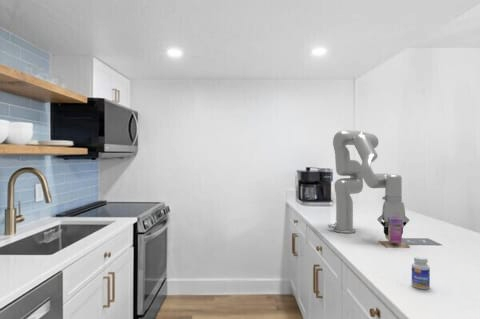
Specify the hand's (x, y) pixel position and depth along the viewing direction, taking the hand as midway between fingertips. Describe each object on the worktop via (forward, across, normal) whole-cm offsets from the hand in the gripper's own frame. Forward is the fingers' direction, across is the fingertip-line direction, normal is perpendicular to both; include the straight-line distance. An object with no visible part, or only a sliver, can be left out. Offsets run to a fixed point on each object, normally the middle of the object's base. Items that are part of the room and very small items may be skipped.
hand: (393, 234), depth 172 cm
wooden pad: (+5, 0, 0) cm, 5 cm away
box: (+3, 0, 0) cm, 3 cm away
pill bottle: (+5, -14, -57) cm, 59 cm away
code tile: (+5, +15, +7) cm, 17 cm away
